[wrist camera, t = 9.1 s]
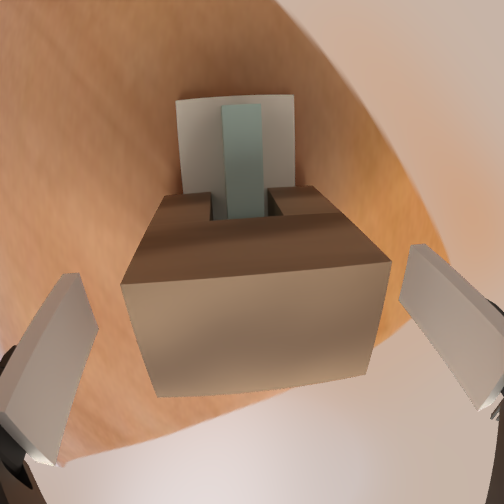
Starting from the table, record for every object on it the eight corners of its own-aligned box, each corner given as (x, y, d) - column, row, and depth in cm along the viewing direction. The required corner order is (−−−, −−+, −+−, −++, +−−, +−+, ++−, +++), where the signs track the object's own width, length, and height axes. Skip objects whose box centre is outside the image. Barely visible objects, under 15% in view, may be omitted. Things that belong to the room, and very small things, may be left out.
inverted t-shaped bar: (177, 100, 15) (162, 98, 11) (290, 95, 16) (317, 92, 11) (203, 332, 22) (203, 383, 17) (289, 324, 22) (304, 372, 18)
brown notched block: (164, 196, 17) (120, 284, 8) (312, 185, 17) (392, 261, 9) (176, 277, 19) (157, 397, 11) (309, 266, 19) (365, 374, 11)
